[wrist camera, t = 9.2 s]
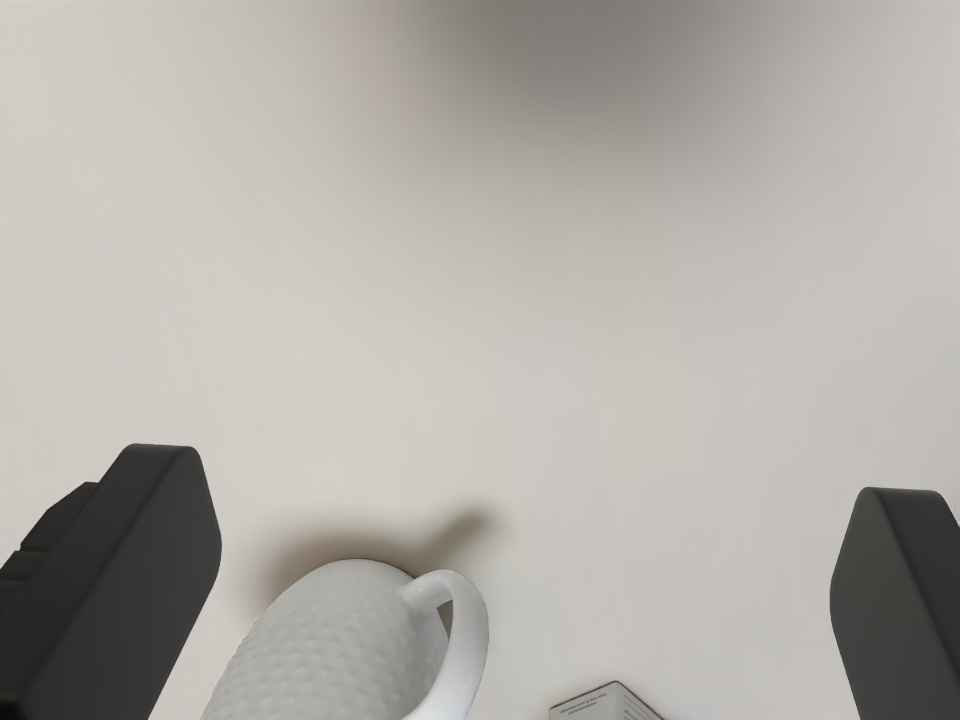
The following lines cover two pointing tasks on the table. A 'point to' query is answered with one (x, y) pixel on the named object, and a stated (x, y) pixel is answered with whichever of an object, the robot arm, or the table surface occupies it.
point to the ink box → (604, 706)
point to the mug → (359, 649)
